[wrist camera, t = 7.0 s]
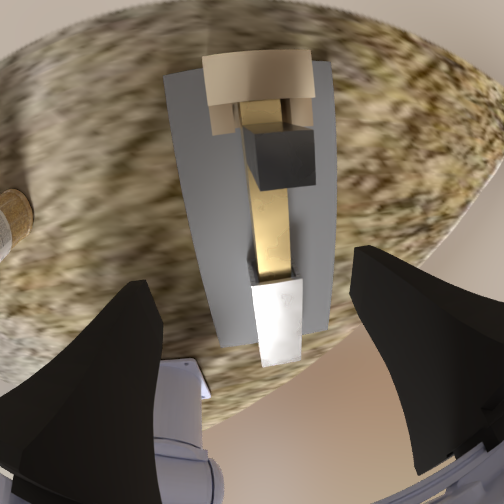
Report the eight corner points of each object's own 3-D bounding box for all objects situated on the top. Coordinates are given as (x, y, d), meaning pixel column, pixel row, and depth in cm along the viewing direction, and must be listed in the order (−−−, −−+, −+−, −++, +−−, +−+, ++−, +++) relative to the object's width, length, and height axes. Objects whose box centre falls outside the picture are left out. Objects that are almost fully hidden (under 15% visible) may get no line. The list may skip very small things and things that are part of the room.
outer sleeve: (257, 339, 24) (262, 367, 21) (246, 259, 19) (251, 287, 17) (292, 333, 24) (300, 360, 21) (290, 252, 20) (302, 278, 17)
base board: (220, 339, 25) (220, 347, 24) (166, 77, 13) (162, 75, 13) (324, 322, 25) (327, 329, 24) (324, 63, 14) (330, 61, 13)
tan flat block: (257, 279, 20) (274, 355, 14) (236, 93, 13) (248, 82, 7) (285, 275, 20) (311, 347, 14) (271, 91, 13) (309, 80, 7)
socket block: (213, 130, 15) (212, 136, 12) (205, 67, 13) (201, 56, 10) (297, 122, 15) (317, 126, 12) (291, 60, 13) (310, 49, 10)
